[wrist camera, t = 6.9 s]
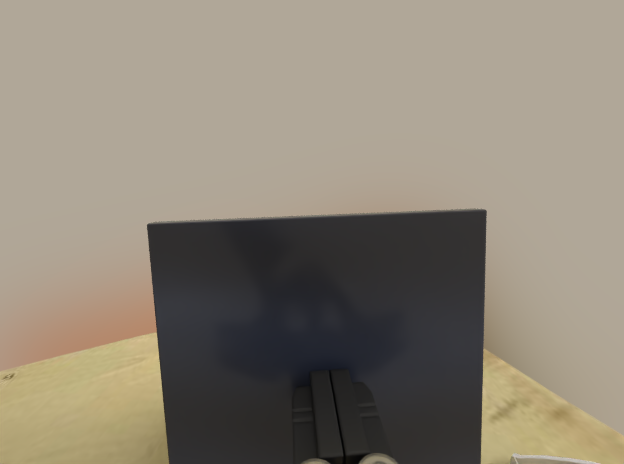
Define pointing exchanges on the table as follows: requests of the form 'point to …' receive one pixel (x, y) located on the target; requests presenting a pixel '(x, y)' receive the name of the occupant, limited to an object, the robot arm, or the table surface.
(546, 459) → the crossbow
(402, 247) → the case lid
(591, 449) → the table surface
